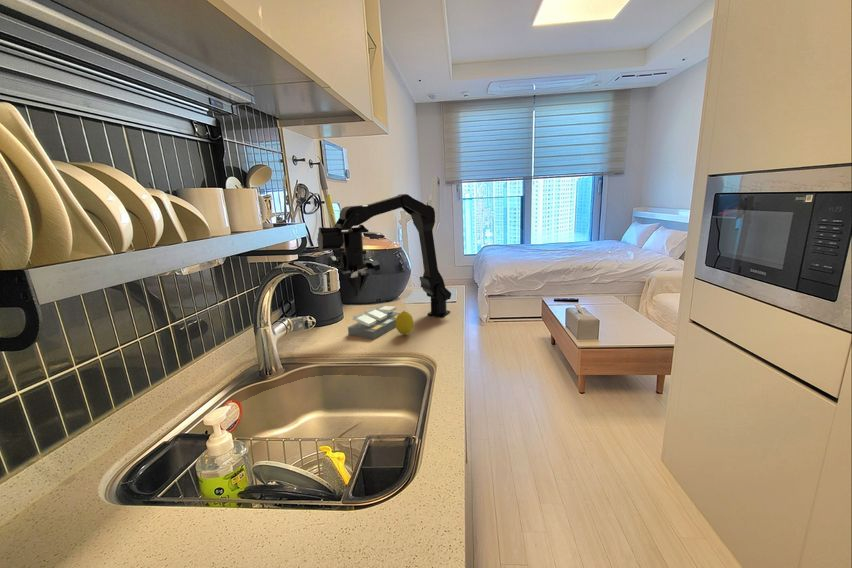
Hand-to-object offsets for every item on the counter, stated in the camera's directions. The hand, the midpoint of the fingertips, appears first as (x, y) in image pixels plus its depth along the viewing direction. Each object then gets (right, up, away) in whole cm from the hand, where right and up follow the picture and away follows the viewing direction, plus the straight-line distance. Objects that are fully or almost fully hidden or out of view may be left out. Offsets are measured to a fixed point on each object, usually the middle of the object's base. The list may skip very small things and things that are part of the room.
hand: (356, 296), depth 116 cm
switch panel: (+6, -11, +6) cm, 14 cm away
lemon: (+15, -12, -2) cm, 20 cm away
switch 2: (+8, -5, +11) cm, 14 cm away
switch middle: (+5, -7, +6) cm, 10 cm away
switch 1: (+2, -8, +1) cm, 8 cm away
